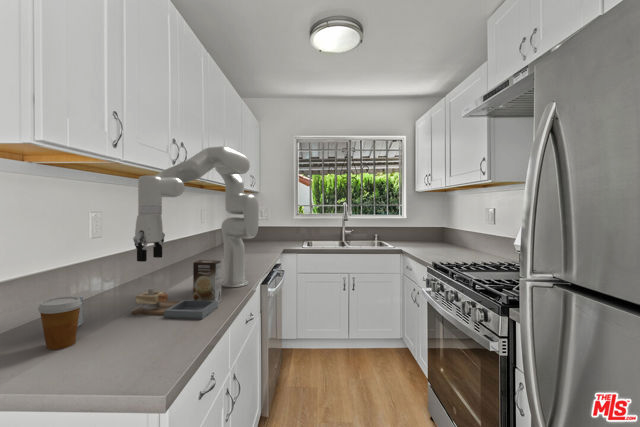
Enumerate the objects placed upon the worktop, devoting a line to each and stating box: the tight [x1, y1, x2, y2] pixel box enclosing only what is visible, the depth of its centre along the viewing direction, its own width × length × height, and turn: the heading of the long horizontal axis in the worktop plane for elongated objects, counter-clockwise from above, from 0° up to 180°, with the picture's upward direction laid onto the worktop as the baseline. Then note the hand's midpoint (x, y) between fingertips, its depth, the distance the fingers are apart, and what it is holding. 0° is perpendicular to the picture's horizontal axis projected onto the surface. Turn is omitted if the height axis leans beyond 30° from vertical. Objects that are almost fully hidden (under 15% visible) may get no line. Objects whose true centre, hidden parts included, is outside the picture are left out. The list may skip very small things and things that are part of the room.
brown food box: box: [192, 259, 222, 304], centre depth 136 cm, size 9×6×16 cm
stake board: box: [131, 288, 182, 316], centre depth 128 cm, size 14×12×8 cm
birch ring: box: [135, 290, 169, 305], centre depth 125 cm, size 7×9×2 cm
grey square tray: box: [164, 299, 219, 320], centre depth 124 cm, size 13×13×2 cm
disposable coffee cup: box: [37, 296, 82, 351], centre depth 95 cm, size 10×10×12 cm
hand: (150, 259), depth 125 cm, fingers open, 9 cm apart
